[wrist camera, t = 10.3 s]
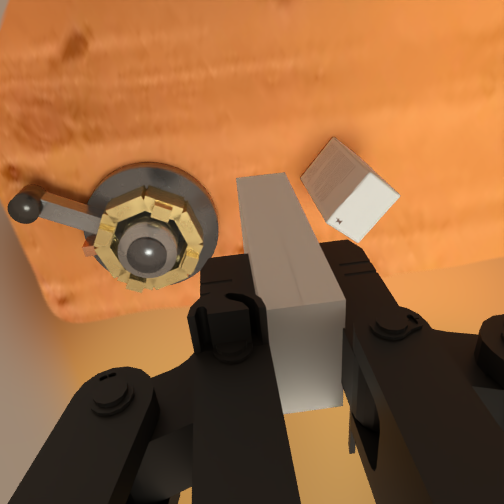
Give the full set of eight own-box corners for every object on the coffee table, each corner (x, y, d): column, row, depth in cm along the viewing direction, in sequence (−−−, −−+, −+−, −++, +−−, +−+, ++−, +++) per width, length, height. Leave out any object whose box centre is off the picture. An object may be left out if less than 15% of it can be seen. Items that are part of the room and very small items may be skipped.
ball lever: (13, 234, 48) (-3, 254, 44) (30, 143, 43) (14, 157, 39) (182, 283, 53) (180, 304, 49) (213, 207, 48) (214, 224, 45)
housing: (70, 170, 47) (49, 198, 40) (208, 154, 48) (209, 179, 41) (106, 284, 55) (92, 323, 48) (224, 269, 55) (227, 305, 49)
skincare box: (326, 196, 52) (357, 245, 41) (299, 177, 50) (323, 223, 40) (361, 155, 49) (402, 196, 39) (333, 134, 48) (369, 170, 38)
